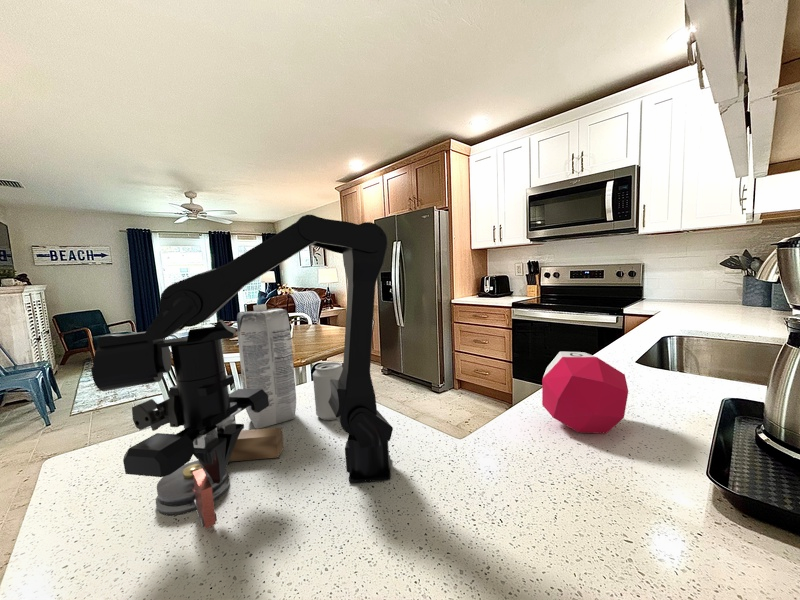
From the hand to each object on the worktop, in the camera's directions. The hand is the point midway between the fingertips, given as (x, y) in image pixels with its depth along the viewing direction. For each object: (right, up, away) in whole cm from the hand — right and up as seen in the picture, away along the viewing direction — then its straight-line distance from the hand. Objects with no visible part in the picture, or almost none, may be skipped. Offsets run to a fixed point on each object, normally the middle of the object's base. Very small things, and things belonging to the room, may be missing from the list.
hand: (217, 482), depth 46 cm
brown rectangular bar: (-3, -3, +15) cm, 16 cm away
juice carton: (-4, -3, +31) cm, 31 cm away
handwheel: (-4, -3, +2) cm, 6 cm away
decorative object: (+61, +1, +18) cm, 64 cm away
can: (+10, -2, +31) cm, 33 cm away
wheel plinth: (-6, -4, +5) cm, 9 cm away
